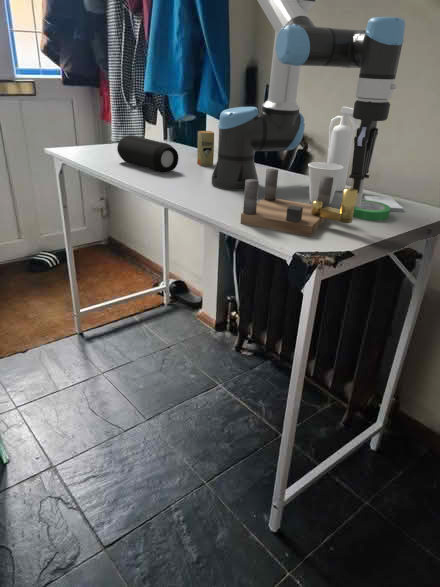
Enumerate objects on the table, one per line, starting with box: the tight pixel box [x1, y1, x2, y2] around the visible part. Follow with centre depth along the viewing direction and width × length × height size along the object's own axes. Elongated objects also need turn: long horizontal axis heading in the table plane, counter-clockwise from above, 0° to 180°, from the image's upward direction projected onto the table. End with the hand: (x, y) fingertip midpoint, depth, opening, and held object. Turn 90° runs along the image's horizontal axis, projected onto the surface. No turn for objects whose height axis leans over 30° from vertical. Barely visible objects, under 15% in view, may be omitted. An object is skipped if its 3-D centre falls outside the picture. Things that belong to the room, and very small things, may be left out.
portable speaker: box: [116, 134, 179, 174], centre depth 161 cm, size 26×10×10 cm, turn 45°
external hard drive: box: [363, 195, 405, 212], centre depth 133 cm, size 2×8×12 cm
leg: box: [311, 187, 358, 224], centre depth 108 cm, size 11×3×8 cm, turn 49°
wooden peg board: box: [240, 168, 333, 237], centre depth 113 cm, size 18×18×10 cm
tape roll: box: [353, 199, 391, 222], centre depth 123 cm, size 11×11×3 cm
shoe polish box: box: [196, 130, 215, 167], centre depth 169 cm, size 5×5×12 cm
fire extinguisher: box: [326, 106, 360, 192], centre depth 141 cm, size 7×12×25 cm, turn 39°
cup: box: [307, 161, 344, 206], centre depth 128 cm, size 10×10×11 cm
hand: (354, 204), depth 109 cm, fingers closed
